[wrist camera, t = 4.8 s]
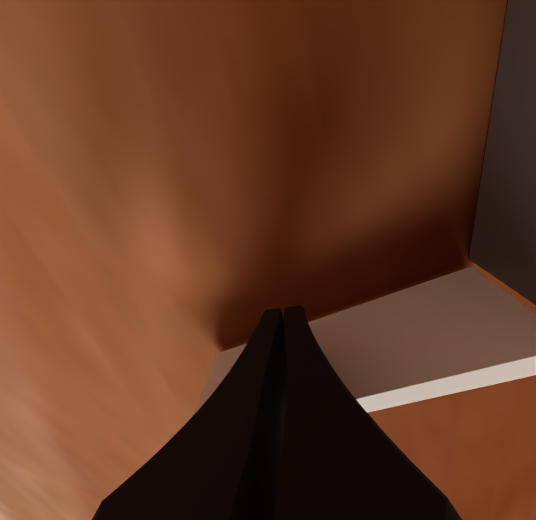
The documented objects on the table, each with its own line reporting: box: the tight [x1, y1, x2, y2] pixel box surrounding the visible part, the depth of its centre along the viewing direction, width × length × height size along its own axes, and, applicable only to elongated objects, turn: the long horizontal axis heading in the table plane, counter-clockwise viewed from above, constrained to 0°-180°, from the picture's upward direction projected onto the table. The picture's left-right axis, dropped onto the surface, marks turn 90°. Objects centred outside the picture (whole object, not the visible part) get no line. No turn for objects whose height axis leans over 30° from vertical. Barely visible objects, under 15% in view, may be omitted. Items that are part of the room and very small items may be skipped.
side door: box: [196, 267, 536, 412], centre depth 11 cm, size 13×2×4 cm, turn 118°
